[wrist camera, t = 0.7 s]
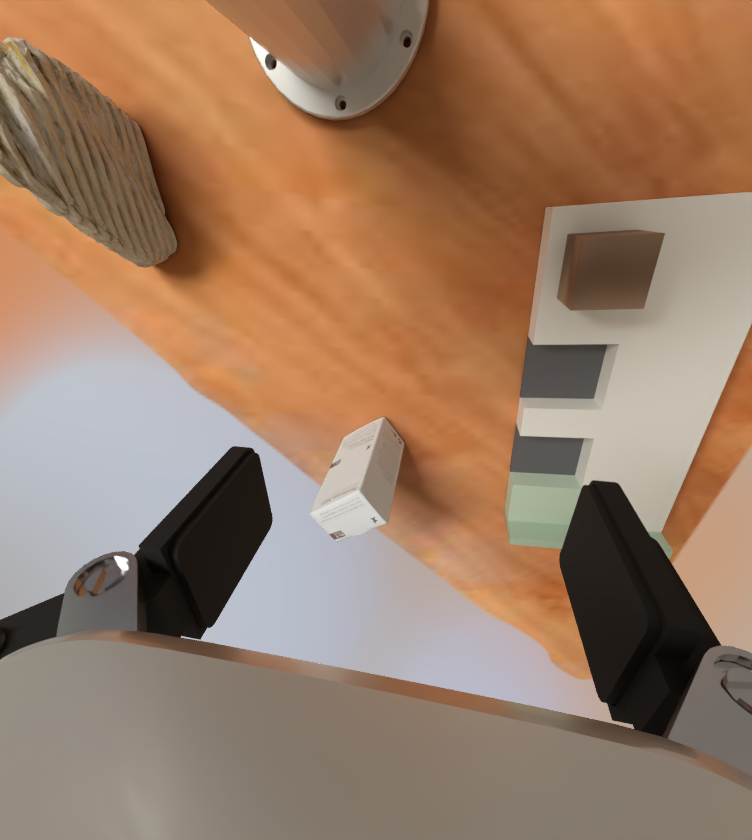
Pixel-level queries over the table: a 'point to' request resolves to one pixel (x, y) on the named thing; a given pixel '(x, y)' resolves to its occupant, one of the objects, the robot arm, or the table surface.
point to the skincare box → (360, 481)
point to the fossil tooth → (79, 155)
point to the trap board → (628, 364)
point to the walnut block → (608, 269)
